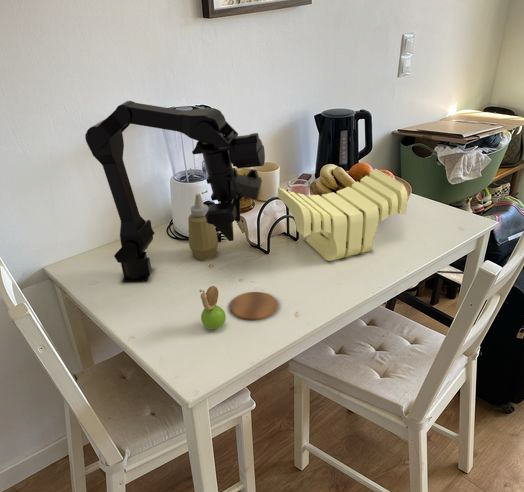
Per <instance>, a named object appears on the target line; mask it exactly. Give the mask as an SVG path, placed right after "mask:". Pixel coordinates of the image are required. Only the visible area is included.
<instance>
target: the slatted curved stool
mask: <svg viewBox="0 0 524 492" xmlns="http://www.w3.org/2000/svg"><path fill="white" fill-rule="evenodd" d="M277 197H278V199H279V200H280V201H281V202H283V203H284V205H286V207H287V209H288V210H289V211H290V213H291V214H292V217H293V219H294V223H295V228H296V232H298V234H299V235H300V236H301V237H303V238H306V237H307V238H306V239H305V241H306V242H307V243H308V244H309V246H311V247H312V248H313V249H314V250H315V251H316V253H318V254H319V255H320V256H321V257H322V258H324V260H326V261H328V262H330V261H335V260H338V259H343V258H346V257H351V256H357V255H359V254H364V253H367V252H372V248H373V242H374V238H375V236H376V233H377V230H378V229H379V222H381V223H382V222H383V221H384V220H386V219H388V217H389V216H391V217H393V216H397V215H398V214H399V215H407V208H408V200H409V199H408V198H409V195H408V192H407V187H405V185H404V183H402V182H400V181H398V180H397V179H395V178H393V177H391V176H390V175H388V174H386V173H384V172H383V171H381V170H379V169H377V168H374V169H373V170H371V171H370V172H369V175H365V176H364V177H362V178H360V180H359V181H355V182H354V183H352V184H351V186H346V187H344V188H342V189H339V190H336V193H335V192H333V191H332V192H328V193H323V194H321V195H320V194H306V195H305V194H303V193H295V192H294V191H291V190H286V189H284V188H281V187H279V186H278V187H277Z"/></svg>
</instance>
